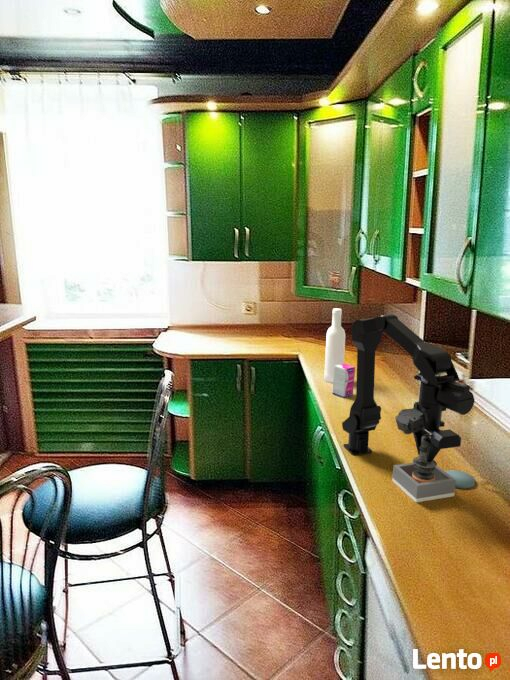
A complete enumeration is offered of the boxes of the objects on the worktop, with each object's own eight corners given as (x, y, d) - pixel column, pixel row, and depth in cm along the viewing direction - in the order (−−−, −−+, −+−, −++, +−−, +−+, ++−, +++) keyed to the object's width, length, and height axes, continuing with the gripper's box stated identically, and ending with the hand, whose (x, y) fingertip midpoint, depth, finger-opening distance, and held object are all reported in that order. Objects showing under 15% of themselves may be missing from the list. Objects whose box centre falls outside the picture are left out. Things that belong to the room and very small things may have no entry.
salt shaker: (430, 469, 140) (435, 426, 137) (439, 480, 135) (444, 436, 132) (408, 469, 140) (412, 426, 137) (415, 480, 135) (420, 436, 132)
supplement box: (343, 398, 202) (345, 369, 200) (332, 394, 207) (333, 365, 204) (353, 395, 206) (355, 366, 203) (342, 390, 210) (343, 362, 208)
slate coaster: (434, 475, 145) (435, 472, 145) (461, 471, 148) (461, 468, 147) (454, 490, 137) (454, 487, 137) (481, 486, 140) (482, 483, 140)
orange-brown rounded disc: (407, 475, 139) (408, 471, 139) (426, 472, 141) (426, 468, 141) (420, 486, 134) (420, 481, 134) (439, 483, 136) (439, 479, 136)
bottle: (322, 381, 221) (325, 310, 214) (326, 376, 228) (329, 306, 221) (341, 384, 218) (345, 311, 211) (344, 378, 226) (348, 308, 218)
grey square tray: (392, 480, 142) (393, 465, 141) (428, 475, 145) (429, 460, 144) (415, 502, 132) (417, 485, 130) (454, 496, 135) (456, 479, 134)
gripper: (382, 390, 139) (378, 446, 143) (424, 418, 122) (418, 480, 125) (420, 387, 142) (414, 441, 146) (466, 413, 125) (458, 474, 129)
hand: (424, 458), depth 136 cm, fingers closed on salt shaker, 3 cm apart
